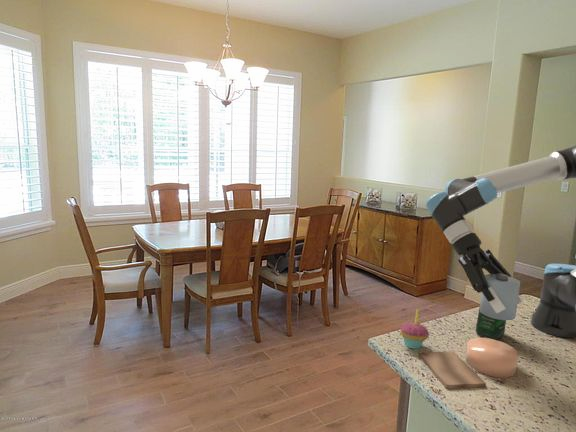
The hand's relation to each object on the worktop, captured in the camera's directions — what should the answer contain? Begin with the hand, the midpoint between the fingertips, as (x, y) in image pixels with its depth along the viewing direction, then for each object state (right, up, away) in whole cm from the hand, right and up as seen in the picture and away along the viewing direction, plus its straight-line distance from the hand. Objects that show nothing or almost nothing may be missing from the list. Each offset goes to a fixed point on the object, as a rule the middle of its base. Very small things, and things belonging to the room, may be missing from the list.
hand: (510, 307), depth 109 cm
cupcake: (-22, -16, +15) cm, 31 cm away
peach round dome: (-2, -18, +6) cm, 19 cm away
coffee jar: (+7, -15, +25) cm, 30 cm away
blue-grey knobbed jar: (-2, -2, +3) cm, 4 cm away
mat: (-16, -18, +2) cm, 24 cm away
